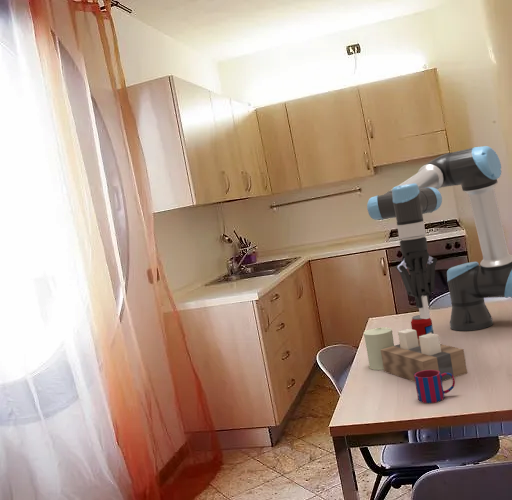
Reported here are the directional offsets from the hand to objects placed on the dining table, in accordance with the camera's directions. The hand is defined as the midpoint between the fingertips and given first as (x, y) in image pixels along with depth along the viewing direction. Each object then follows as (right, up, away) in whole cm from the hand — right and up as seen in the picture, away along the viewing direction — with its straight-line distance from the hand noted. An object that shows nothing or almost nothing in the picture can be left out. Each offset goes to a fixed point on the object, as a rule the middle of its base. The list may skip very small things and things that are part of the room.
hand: (425, 318), depth 180 cm
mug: (-1, -19, -17) cm, 26 cm away
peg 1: (-1, -12, +11) cm, 17 cm away
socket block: (+1, -17, +7) cm, 18 cm away
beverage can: (+8, -14, +28) cm, 33 cm away
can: (-8, -18, +21) cm, 29 cm away
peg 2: (+2, -12, +1) cm, 12 cm away
